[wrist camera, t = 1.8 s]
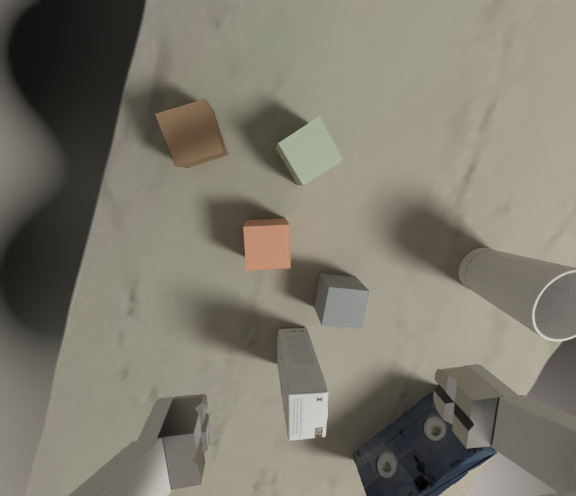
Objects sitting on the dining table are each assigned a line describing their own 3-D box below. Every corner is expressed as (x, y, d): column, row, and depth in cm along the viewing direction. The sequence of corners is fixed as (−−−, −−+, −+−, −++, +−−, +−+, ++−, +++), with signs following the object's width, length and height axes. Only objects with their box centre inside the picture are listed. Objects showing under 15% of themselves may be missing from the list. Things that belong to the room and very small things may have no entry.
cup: (505, 288, 41) (601, 331, 30) (454, 300, 41) (531, 349, 29) (505, 236, 39) (609, 261, 28) (451, 248, 39) (532, 279, 27)
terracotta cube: (245, 219, 35) (243, 226, 30) (285, 218, 36) (289, 224, 31) (247, 258, 36) (246, 270, 32) (286, 256, 37) (290, 268, 32)
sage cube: (275, 147, 33) (278, 143, 29) (311, 124, 33) (320, 115, 28) (296, 184, 35) (303, 185, 30) (331, 162, 35) (343, 160, 30)
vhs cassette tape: (360, 461, 47) (386, 535, 37) (349, 452, 46) (373, 524, 37) (449, 395, 45) (500, 454, 36) (439, 384, 45) (489, 441, 35)
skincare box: (276, 328, 39) (284, 393, 28) (308, 326, 40) (329, 389, 28) (277, 366, 41) (284, 443, 29) (307, 364, 41) (327, 439, 30)
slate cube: (320, 272, 38) (329, 287, 33) (355, 276, 39) (369, 290, 34) (313, 306, 39) (321, 325, 34) (348, 309, 40) (360, 328, 35)
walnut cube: (170, 123, 32) (154, 113, 27) (213, 110, 32) (205, 98, 27) (187, 167, 33) (175, 166, 28) (228, 155, 33) (223, 151, 28)
